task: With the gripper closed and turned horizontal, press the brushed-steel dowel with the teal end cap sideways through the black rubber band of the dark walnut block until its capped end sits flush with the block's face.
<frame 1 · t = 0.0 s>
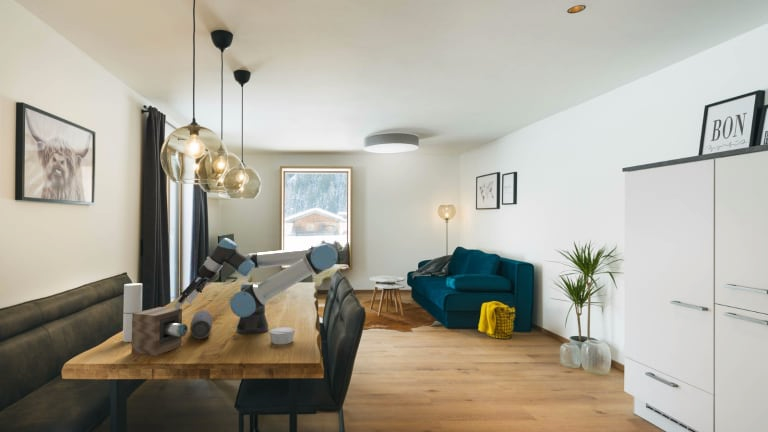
hand: (182, 305, 191), 15 cm above the table, tool tilted 35°, fingers open, 13 cm apart
peg: (171, 329, 172), point 9 cm above the table, slide at 7.0 cm
cylindrical container: (132, 339, 187), on the table
bluetooth speaker: (201, 335, 196), on the table
housing: (157, 349, 174), on the table
ramekin: (281, 342, 187), on the table
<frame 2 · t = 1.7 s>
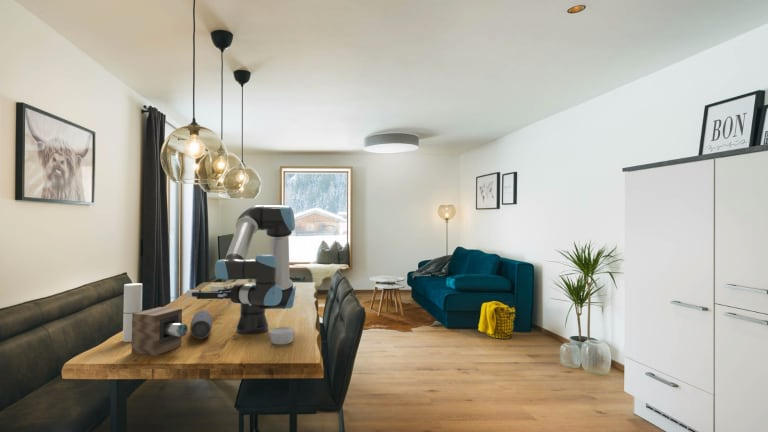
hand: (199, 291, 169), 26 cm above the table, tool horizontal, fingers open, 13 cm apart
nothing on the table moved.
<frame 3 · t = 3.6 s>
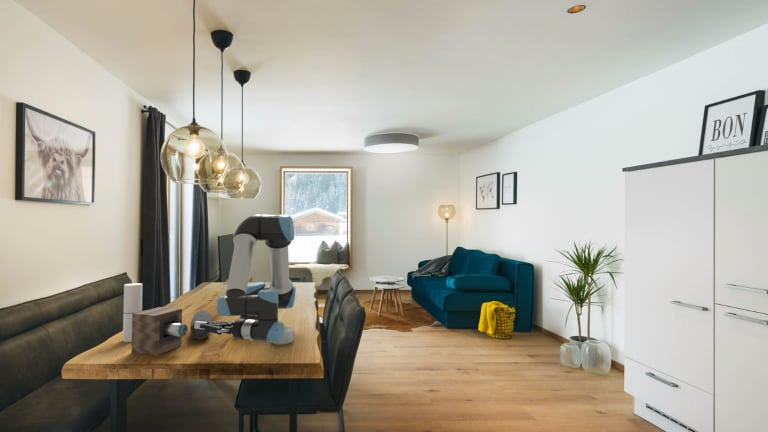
hand: (195, 324, 168), 12 cm above the table, tool horizontal, fingers closed
nothing on the table moved.
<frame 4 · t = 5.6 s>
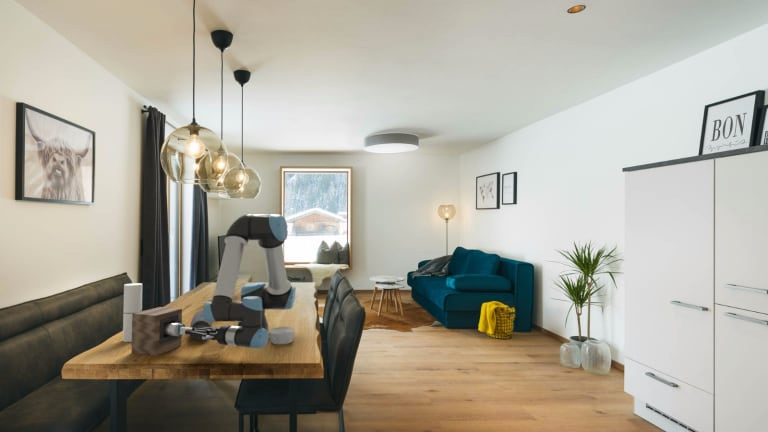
hand: (181, 330, 170), 9 cm above the table, tool horizontal, fingers closed
peg: (169, 329, 172), point 9 cm above the table, slide at 6.1 cm, touching gripper
everything else where it was.
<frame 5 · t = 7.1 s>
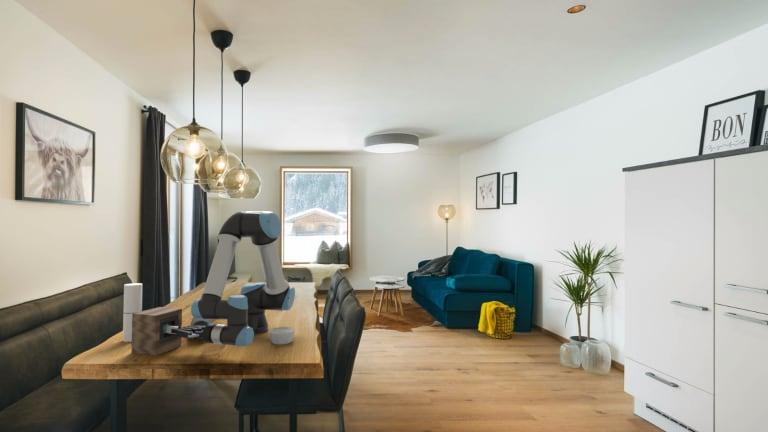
hand: (167, 329, 172), 9 cm above the table, tool horizontal, fingers closed
peg: (156, 327, 174), point 9 cm above the table, slide at -0.7 cm, touching gripper
everything else where it was.
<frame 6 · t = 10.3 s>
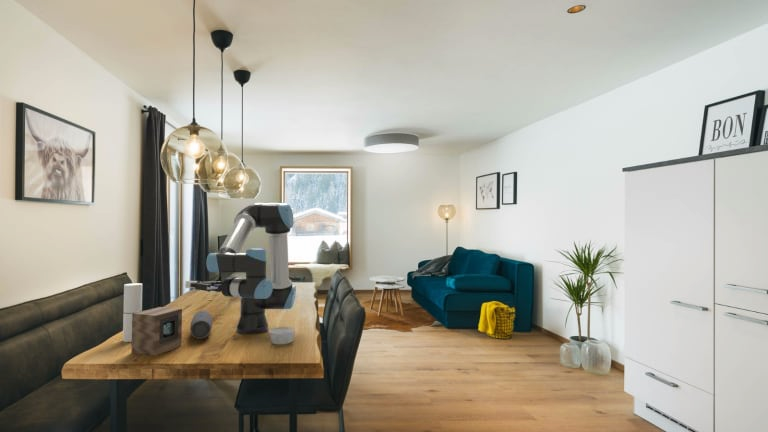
hand: (186, 284, 171), 28 cm above the table, tool horizontal, fingers closed
peg: (157, 327, 174), point 9 cm above the table, slide at 0.0 cm
everything else where it was.
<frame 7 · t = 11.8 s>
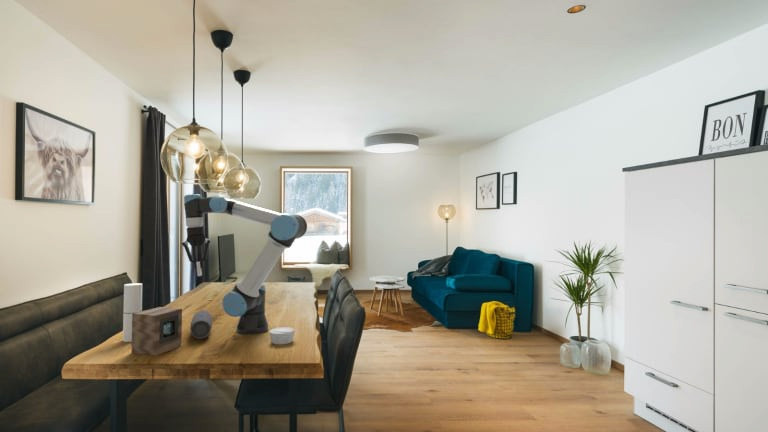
hand: (199, 275, 198), 28 cm above the table, tool pointing down, fingers closed
nothing on the table moved.
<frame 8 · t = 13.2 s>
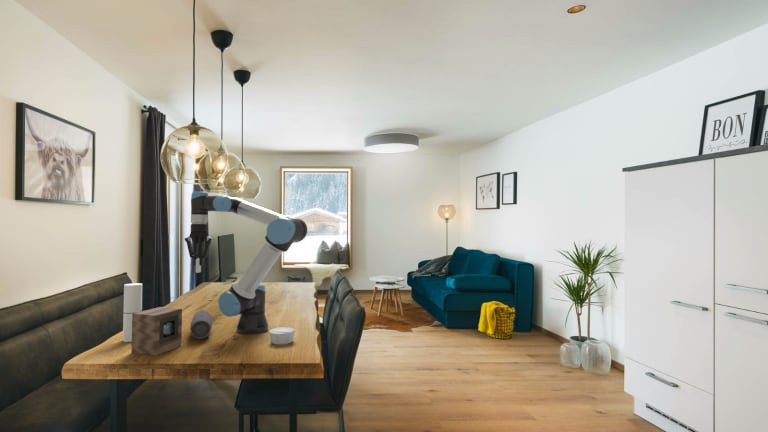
hand: (198, 272, 200), 29 cm above the table, tool pointing down, fingers closed
nothing on the table moved.
at the end: peg slide at 0.0 cm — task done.
